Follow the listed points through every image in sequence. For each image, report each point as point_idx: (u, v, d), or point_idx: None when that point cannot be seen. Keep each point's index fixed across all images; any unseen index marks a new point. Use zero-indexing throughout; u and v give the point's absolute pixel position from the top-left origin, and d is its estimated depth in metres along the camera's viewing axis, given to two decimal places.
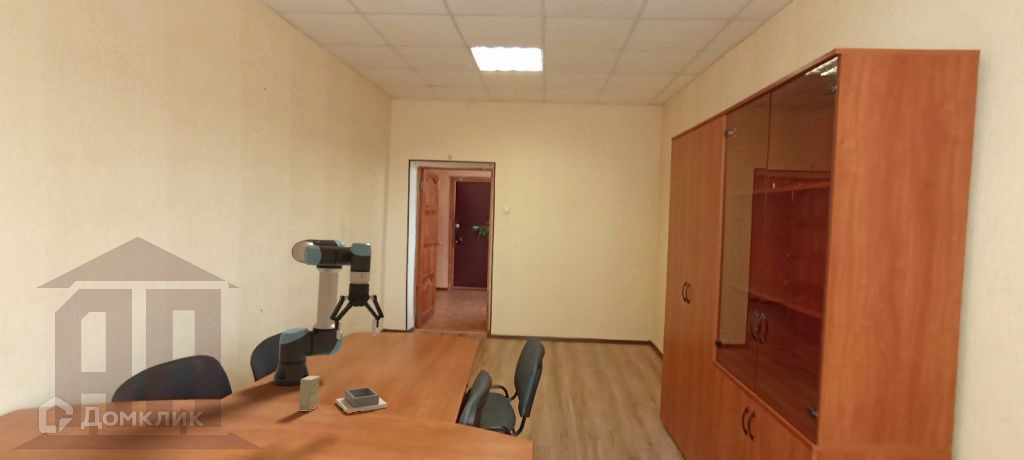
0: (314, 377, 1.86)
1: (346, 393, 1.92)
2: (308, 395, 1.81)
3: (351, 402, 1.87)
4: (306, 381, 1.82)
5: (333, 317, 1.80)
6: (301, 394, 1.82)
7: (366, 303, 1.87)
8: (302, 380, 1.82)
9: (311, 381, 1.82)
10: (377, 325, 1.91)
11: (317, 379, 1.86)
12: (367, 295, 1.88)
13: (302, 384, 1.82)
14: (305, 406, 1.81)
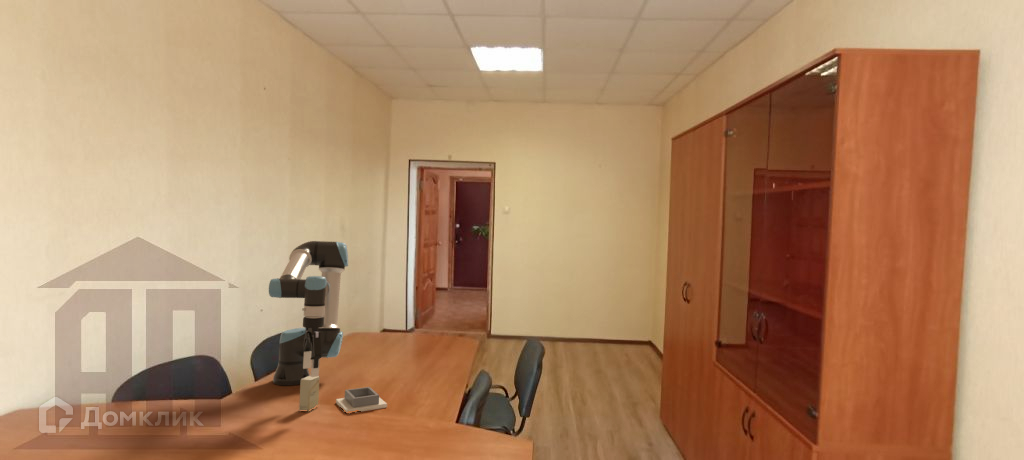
0: (314, 377, 1.86)
1: (346, 393, 1.92)
2: (308, 395, 1.81)
3: (351, 402, 1.87)
4: (306, 381, 1.82)
5: (303, 345, 1.92)
6: (301, 394, 1.82)
7: (309, 338, 1.82)
8: (302, 380, 1.82)
9: (311, 381, 1.82)
10: (313, 365, 1.78)
11: (317, 379, 1.86)
12: (311, 330, 1.82)
13: (302, 384, 1.82)
14: (305, 406, 1.81)
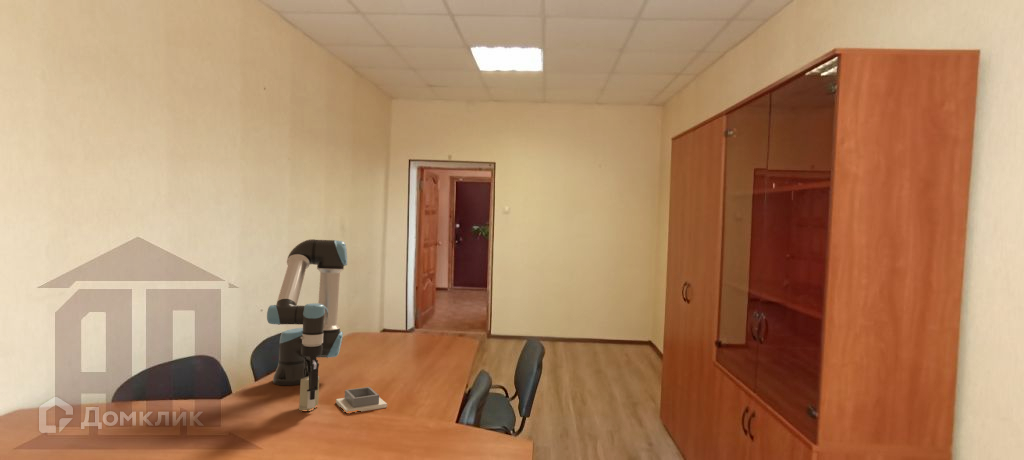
0: None
1: (346, 393, 1.92)
2: None
3: (351, 402, 1.87)
4: (306, 381, 1.82)
5: None
6: (301, 394, 1.82)
7: (307, 368, 1.82)
8: (302, 380, 1.82)
9: None
10: (310, 397, 1.80)
11: None
12: (310, 359, 1.82)
13: (302, 384, 1.82)
14: (305, 406, 1.81)
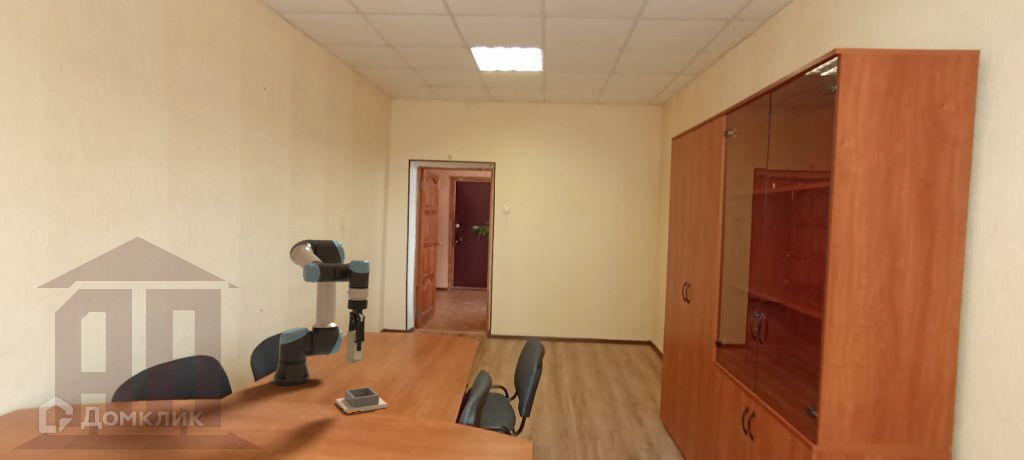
0: None
1: (346, 393, 1.92)
2: None
3: (351, 402, 1.87)
4: (352, 333, 1.88)
5: None
6: (348, 346, 1.88)
7: (353, 320, 1.89)
8: (349, 333, 1.89)
9: None
10: (357, 348, 1.86)
11: None
12: (356, 312, 1.88)
13: (349, 336, 1.88)
14: (352, 358, 1.88)
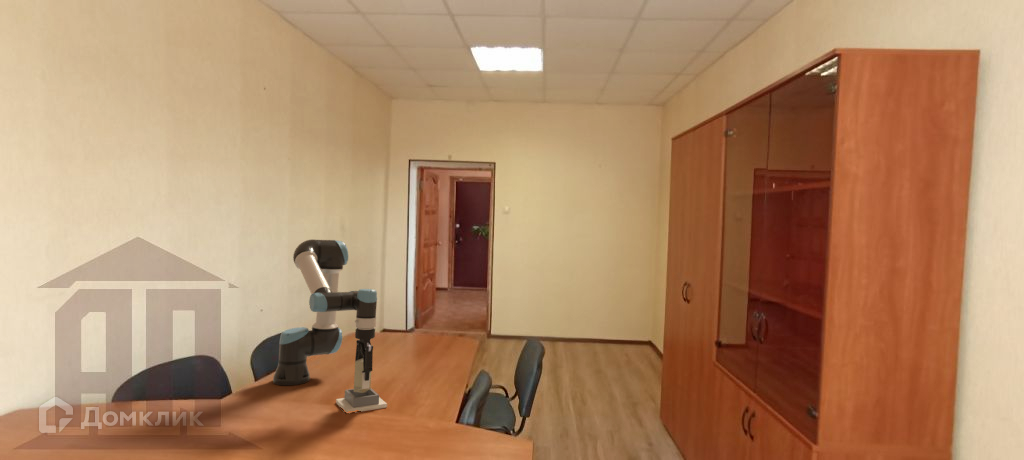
0: None
1: (346, 393, 1.92)
2: None
3: (351, 402, 1.87)
4: (360, 363, 1.89)
5: None
6: (356, 375, 1.90)
7: (361, 350, 1.90)
8: (356, 362, 1.90)
9: None
10: (365, 378, 1.88)
11: None
12: (364, 342, 1.89)
13: (356, 366, 1.90)
14: (360, 387, 1.89)
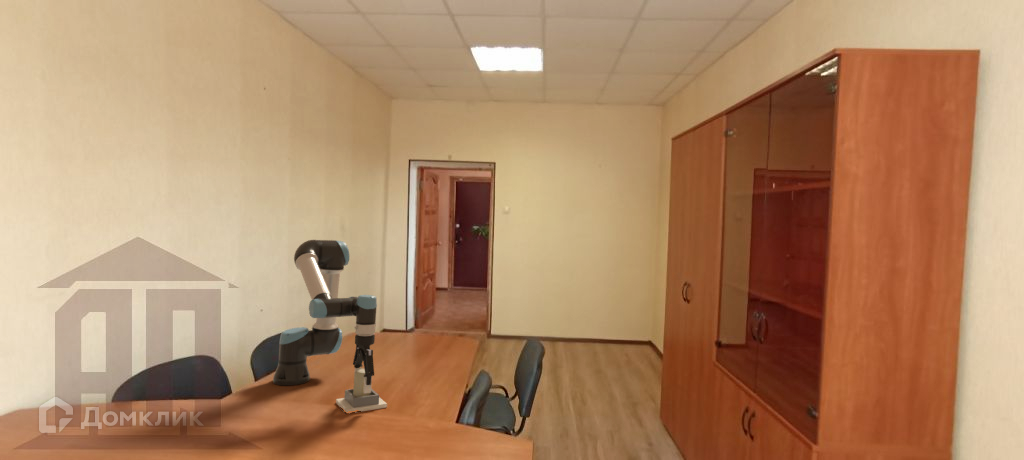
0: None
1: (346, 393, 1.92)
2: (362, 387, 1.89)
3: (351, 402, 1.87)
4: (360, 374, 1.89)
5: (353, 362, 1.99)
6: (355, 386, 1.89)
7: (361, 356, 1.89)
8: (356, 373, 1.90)
9: (364, 374, 1.90)
10: (366, 382, 1.86)
11: (369, 372, 1.93)
12: (364, 348, 1.89)
13: (356, 377, 1.90)
14: None
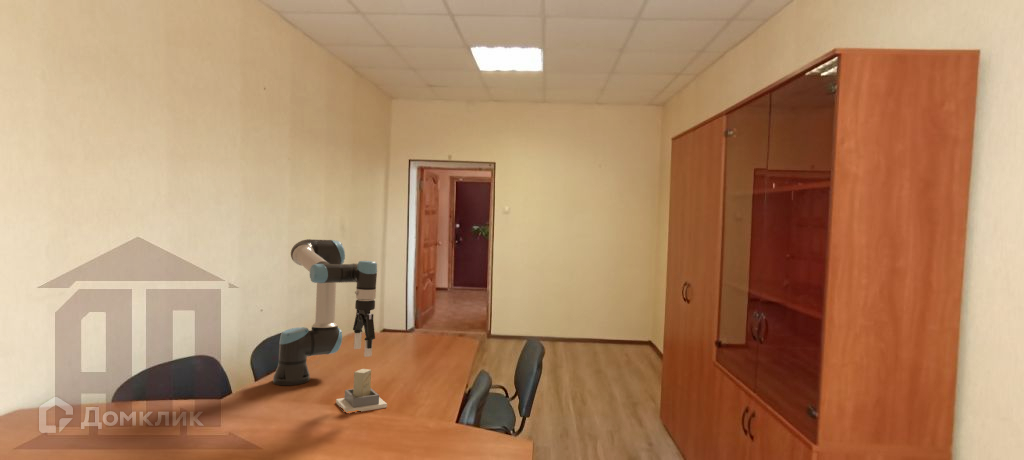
0: (366, 370, 1.93)
1: (346, 393, 1.92)
2: (361, 387, 1.89)
3: (351, 402, 1.87)
4: (359, 374, 1.89)
5: (353, 327, 2.00)
6: (355, 386, 1.90)
7: (362, 320, 1.90)
8: (355, 373, 1.90)
9: (364, 374, 1.90)
10: (367, 346, 1.86)
11: (369, 372, 1.93)
12: (364, 313, 1.90)
13: (355, 377, 1.90)
14: None
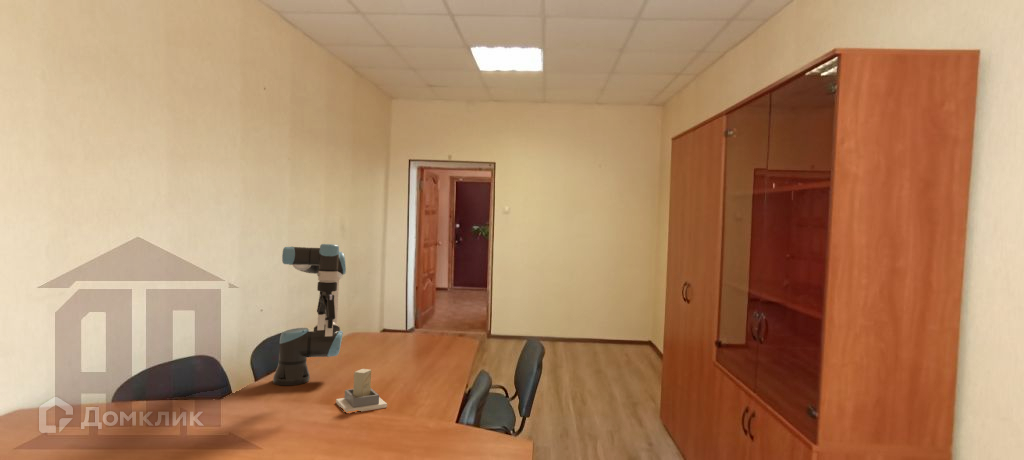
0: (366, 370, 1.93)
1: (346, 393, 1.92)
2: (361, 387, 1.89)
3: (351, 402, 1.87)
4: (359, 374, 1.89)
5: (317, 309, 2.06)
6: (355, 386, 1.90)
7: (323, 301, 1.95)
8: (355, 373, 1.90)
9: (364, 374, 1.90)
10: (328, 325, 1.92)
11: (369, 372, 1.93)
12: (325, 294, 1.96)
13: (355, 377, 1.90)
14: None
